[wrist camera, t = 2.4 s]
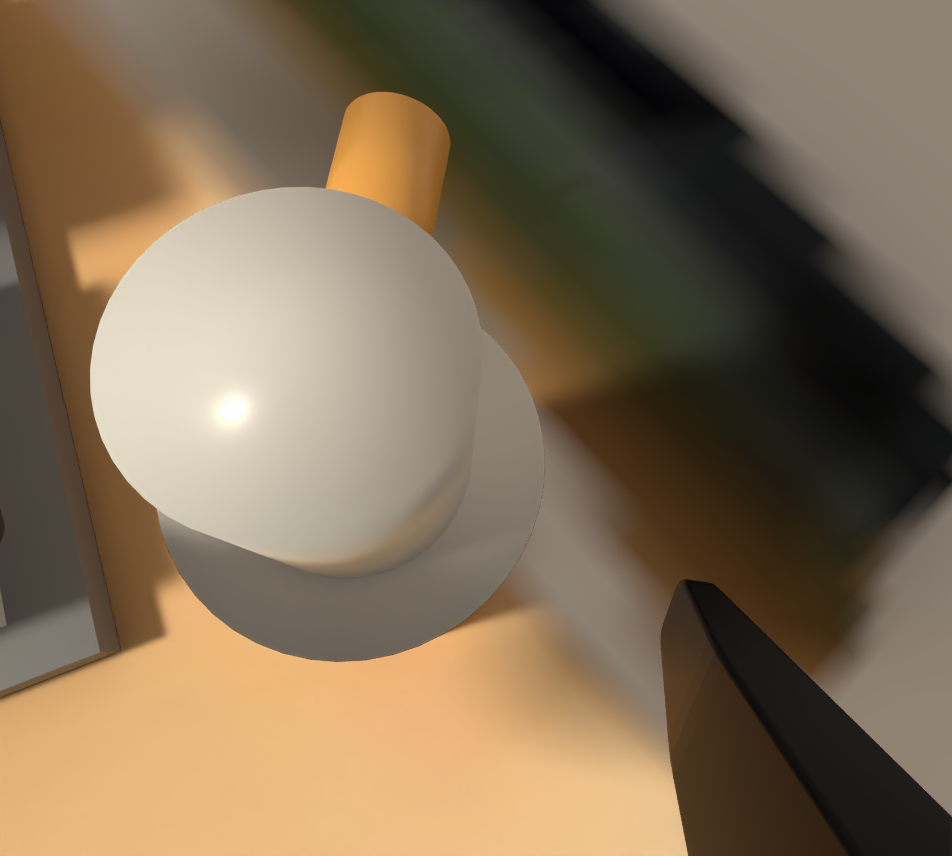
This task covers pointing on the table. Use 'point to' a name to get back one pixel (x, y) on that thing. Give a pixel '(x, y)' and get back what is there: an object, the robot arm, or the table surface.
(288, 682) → the table surface
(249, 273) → the white rounded upright piece
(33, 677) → the tray with square frame
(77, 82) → the table surface
